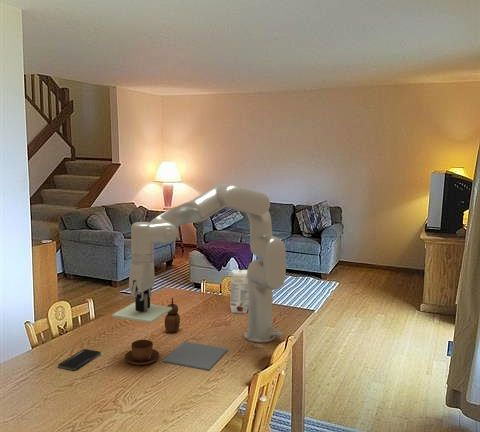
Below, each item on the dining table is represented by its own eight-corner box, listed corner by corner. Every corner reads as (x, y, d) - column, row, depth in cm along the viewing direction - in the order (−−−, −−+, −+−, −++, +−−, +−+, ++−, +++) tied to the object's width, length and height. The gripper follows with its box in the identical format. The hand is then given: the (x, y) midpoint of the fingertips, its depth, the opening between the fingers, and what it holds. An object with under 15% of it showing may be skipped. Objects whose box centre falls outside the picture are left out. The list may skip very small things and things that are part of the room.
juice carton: (248, 313, 223) (249, 273, 220) (229, 313, 223) (230, 273, 220) (248, 308, 230) (249, 269, 227) (230, 308, 230) (231, 268, 227)
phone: (56, 365, 166) (84, 348, 180) (56, 368, 166) (84, 351, 180) (75, 369, 163) (102, 351, 177) (75, 372, 163) (102, 354, 177)
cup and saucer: (166, 358, 175) (166, 342, 174) (142, 371, 165) (142, 353, 164) (141, 350, 181) (141, 334, 180) (117, 362, 171) (117, 345, 170)
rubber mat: (228, 350, 183) (228, 348, 183) (209, 370, 166) (209, 369, 166) (184, 342, 189) (184, 341, 189) (162, 361, 172) (162, 360, 172)
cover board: (172, 309, 175) (172, 291, 174) (150, 323, 161) (150, 303, 160) (135, 303, 180) (135, 286, 179) (112, 316, 166) (111, 297, 165)
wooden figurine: (176, 334, 196) (176, 298, 194) (162, 333, 198) (162, 297, 195) (181, 328, 203) (181, 293, 201) (168, 327, 204) (168, 292, 202)
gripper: (145, 252, 177) (145, 301, 179) (119, 261, 161) (120, 315, 164) (163, 254, 174) (163, 303, 177) (139, 264, 159) (139, 318, 162)
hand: (142, 308), depth 170 cm, fingers closed on cover board, 3 cm apart
